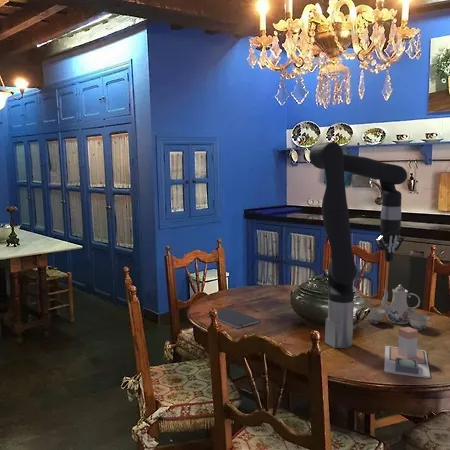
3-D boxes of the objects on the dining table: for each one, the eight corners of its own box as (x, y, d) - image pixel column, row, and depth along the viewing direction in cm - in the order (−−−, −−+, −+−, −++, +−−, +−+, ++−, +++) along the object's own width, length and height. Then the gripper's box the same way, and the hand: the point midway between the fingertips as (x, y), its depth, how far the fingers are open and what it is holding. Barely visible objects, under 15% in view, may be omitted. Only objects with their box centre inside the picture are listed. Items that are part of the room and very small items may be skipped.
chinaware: (360, 328, 213) (361, 291, 209) (365, 312, 228) (366, 277, 224) (432, 337, 203) (435, 298, 199) (433, 320, 218) (435, 284, 214)
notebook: (260, 323, 216) (228, 310, 232) (260, 319, 216) (228, 307, 232) (237, 329, 208) (206, 316, 224) (237, 326, 208) (206, 313, 224)
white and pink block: (406, 358, 176) (408, 332, 175) (397, 354, 180) (399, 328, 179) (416, 356, 178) (418, 330, 177) (407, 352, 182) (408, 326, 181)
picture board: (430, 378, 163) (430, 370, 163) (384, 372, 167) (384, 364, 167) (425, 351, 184) (426, 345, 184) (385, 347, 188) (385, 340, 188)
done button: (415, 371, 166) (415, 366, 165) (398, 369, 167) (399, 364, 167) (414, 365, 170) (414, 360, 170) (398, 363, 172) (398, 358, 172)
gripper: (384, 219, 191) (382, 265, 193) (411, 217, 196) (408, 261, 199) (370, 217, 197) (368, 261, 200) (396, 215, 203) (394, 258, 206)
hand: (388, 261), depth 199 cm, fingers closed
